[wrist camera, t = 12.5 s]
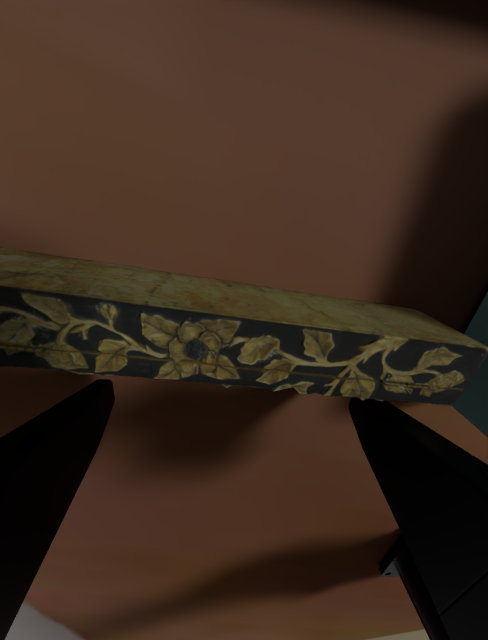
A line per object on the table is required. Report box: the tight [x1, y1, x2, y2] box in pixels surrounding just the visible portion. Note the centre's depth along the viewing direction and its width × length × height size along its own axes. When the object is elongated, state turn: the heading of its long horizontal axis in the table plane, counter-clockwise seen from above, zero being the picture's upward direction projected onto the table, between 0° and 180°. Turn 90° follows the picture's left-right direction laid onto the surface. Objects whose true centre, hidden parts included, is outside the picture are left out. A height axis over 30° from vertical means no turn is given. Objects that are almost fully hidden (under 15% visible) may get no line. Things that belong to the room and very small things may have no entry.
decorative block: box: [0, 248, 488, 406], centre depth 8 cm, size 15×2×4 cm, turn 80°
